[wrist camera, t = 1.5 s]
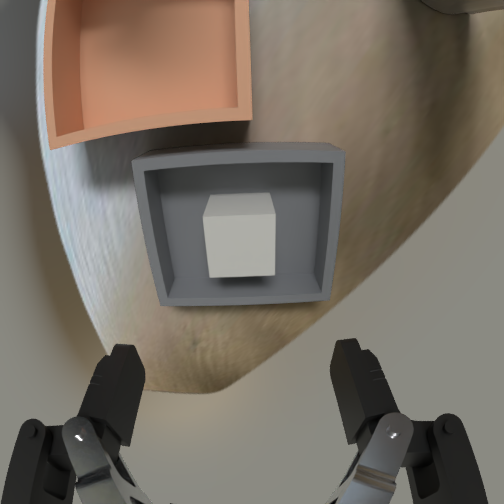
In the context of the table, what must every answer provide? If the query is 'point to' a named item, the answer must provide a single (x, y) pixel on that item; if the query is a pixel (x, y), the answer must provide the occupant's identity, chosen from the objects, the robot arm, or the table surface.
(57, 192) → the table surface
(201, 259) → the charcoal bin
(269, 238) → the off-white cube block
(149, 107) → the terracotta tray
